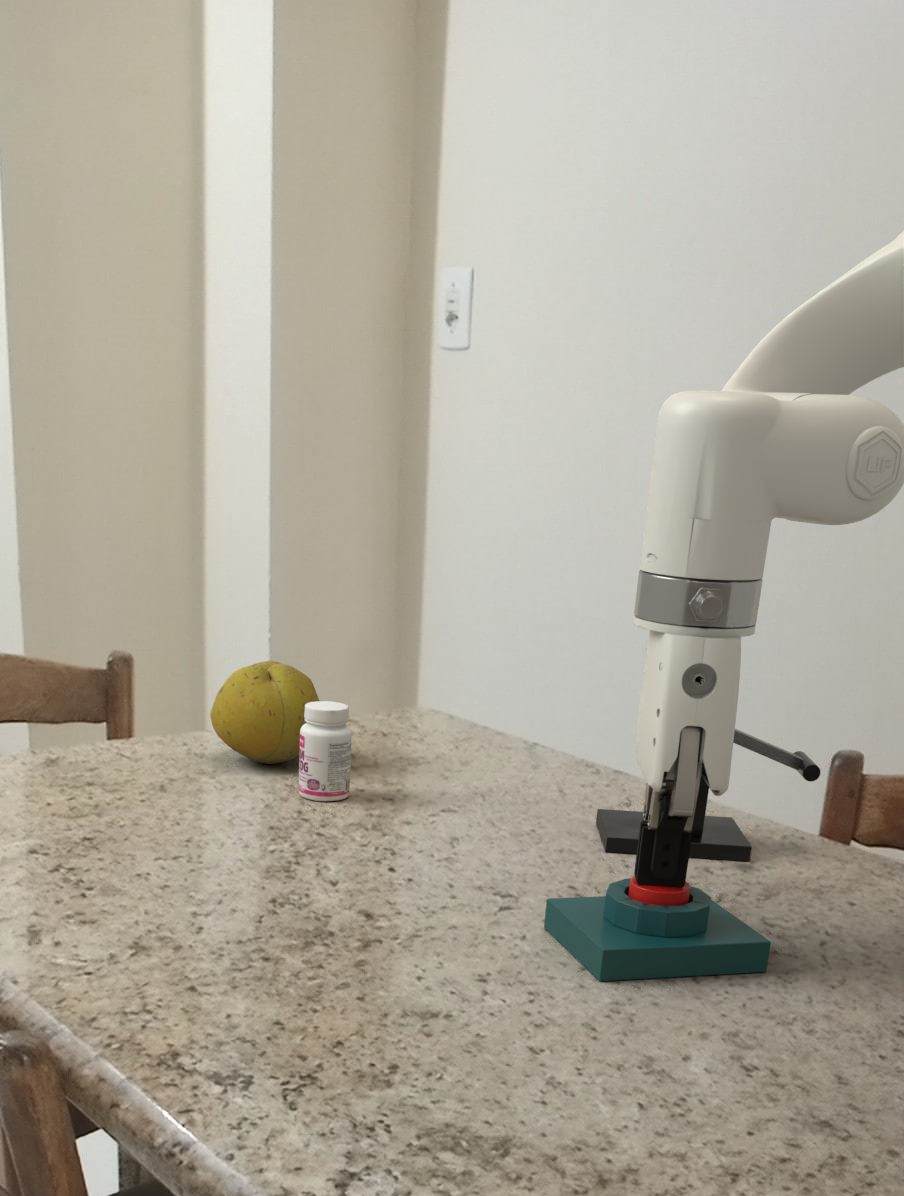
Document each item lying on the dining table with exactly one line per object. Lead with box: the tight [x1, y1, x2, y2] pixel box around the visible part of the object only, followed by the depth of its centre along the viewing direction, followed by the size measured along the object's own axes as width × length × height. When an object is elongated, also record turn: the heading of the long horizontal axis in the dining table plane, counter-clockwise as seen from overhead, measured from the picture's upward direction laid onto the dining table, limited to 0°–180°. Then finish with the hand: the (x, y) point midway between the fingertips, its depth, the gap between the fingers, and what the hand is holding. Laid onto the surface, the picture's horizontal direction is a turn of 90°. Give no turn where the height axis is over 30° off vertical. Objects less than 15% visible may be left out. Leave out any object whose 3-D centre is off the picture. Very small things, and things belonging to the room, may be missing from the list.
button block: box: [543, 877, 772, 982], centre depth 94 cm, size 12×10×4 cm
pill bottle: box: [297, 700, 353, 802], centre depth 126 cm, size 5×5×8 cm
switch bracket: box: [595, 776, 753, 862], centre depth 117 cm, size 12×9×13 cm
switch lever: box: [733, 728, 821, 782], centre depth 115 cm, size 13×5×2 cm, turn 86°
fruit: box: [210, 660, 320, 765], centre depth 137 cm, size 11×12×10 cm
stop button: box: [628, 875, 691, 906], centre depth 93 cm, size 4×4×2 cm
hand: (658, 882), depth 93 cm, fingers closed
